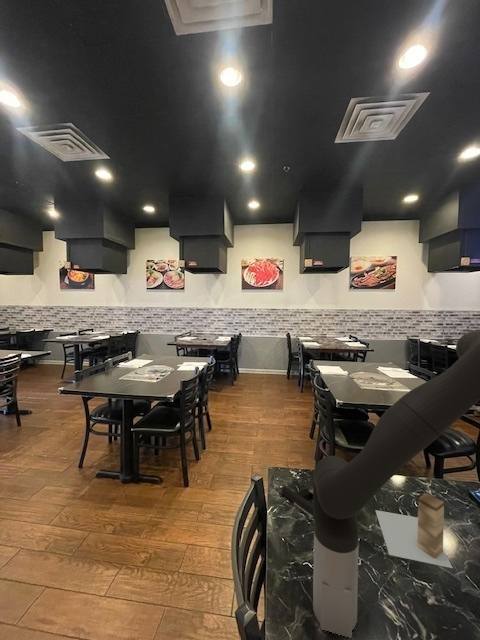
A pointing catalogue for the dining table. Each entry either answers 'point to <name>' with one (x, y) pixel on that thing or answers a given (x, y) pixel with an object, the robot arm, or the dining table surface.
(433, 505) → the birch block
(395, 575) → the dining table surface
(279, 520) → the dining table surface
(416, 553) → the rubber mat
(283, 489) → the door handle
